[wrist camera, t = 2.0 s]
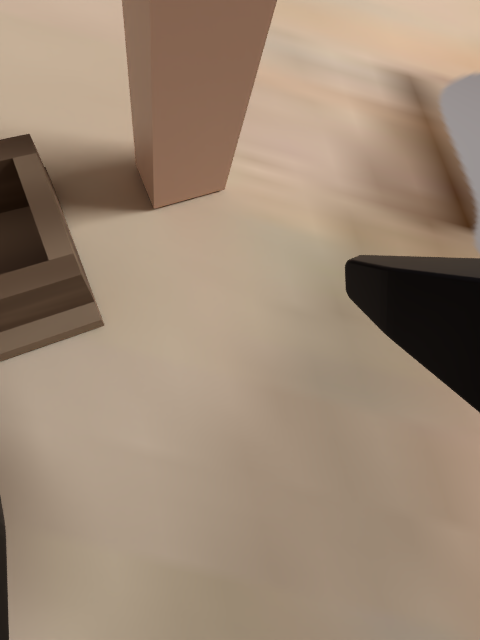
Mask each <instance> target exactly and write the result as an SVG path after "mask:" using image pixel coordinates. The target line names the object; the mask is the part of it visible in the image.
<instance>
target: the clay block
mask: <svg viewBox="0 0 480 640" xmlns="http://www.w3.org/2000/svg"><path fill="white" fill-rule="evenodd" d="M276 2H277V0H122V6H123V18H124V29H125V41H126V53H127V65H128V77H129V88H130V100H131V112H132V124H133V135H134V147H135V159H136V166H137V169H138V171H139V174H140V176H141V178H142V181H143V183H144V186H145V188H146V191H147V193H148V195H149V198H150V200H151V203H152V205H153V208H154V209H155V208H159V207H162V206H166V205H170V204H173V203H177V202H180V201H184V200H188V199H191V198H195V197H198V196H202V195H206V194H209V193H213V192H217V191H220V190H224V189H225V186H226V182H227V179H228V175H229V171H230V168H231V164H232V161H233V157H234V153H235V150H236V146H237V143H238V139H239V135H240V132H241V128H242V125H243V121H244V117H245V114H246V110H247V106H248V103H249V99H250V96H251V92H252V88H253V85H254V81H255V78H256V74H257V70H258V67H259V63H260V60H261V56H262V52H263V49H264V45H265V42H266V38H267V34H268V31H269V27H270V24H271V20H272V16H273V13H274V9H275V6H276Z"/></svg>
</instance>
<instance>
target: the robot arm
mask: <svg viewBox="0 0 480 640" xmlns="http://www.w3.org/2000/svg"><path fill="white" fill-rule="evenodd" d="M345 281H346V292H347V294H348V296H349V298H350V299H351V300H352V301H353V302H354V303H355V304H356V305H357V306H358V307H359V308H360V309H361V310H362V311H363V312H364V313H365V314H366V315H367V316H368V317H369V318H370V319H371V320H372V321H373V322H374V323H375V324H376V325H377V326H378V327H379V328H380V329H381V330H382V331H383V332H384V333H385V334H386V335H387V336H388V337H389V338H390V339H391V340H393V341H394V342H395V343H396V344H397V345H399V346H400V347H401V348H402V349H403V350H405V351H406V352H407V353H408V354H410V355H411V356H412V357H413V358H414V359H416V360H417V361H418V362H419V363H420V364H422V365H423V366H424V367H425V368H426V369H428V370H429V371H430V372H431V373H433V374H434V375H435V376H436V377H437V378H439V379H440V380H441V381H442V382H443V383H445V384H446V385H447V386H448V387H449V388H451V389H452V390H453V391H454V392H456V393H457V394H458V395H459V396H460V397H462V398H463V399H464V400H465V401H466V402H468V403H469V404H470V405H471V406H472V407H474V408H475V409H476V410H477V411H479V412H480V259H479V258H445V257H411V256H378V255H359V256H357V257H354V258H352V259H350V260H348V261H347V262H346V264H345ZM0 640H9V625H8V590H7V555H6V530H5V522H4V515H3V509H2V503H1V497H0Z"/></svg>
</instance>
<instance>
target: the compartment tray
mask: <svg viewBox="0 0 480 640" xmlns="http://www.w3.org/2000/svg"><path fill="white" fill-rule="evenodd" d="M101 326H104V323H103V320H102V317H101V315H100V312H99V309H98V306H97V304H96V301H95V298H94V296H93V293H92V290H91V288H90V285H89V282H88V279H87V277H86V274H85V271H84V269H83V266H82V263H81V260H80V258H79V255H78V252H77V250H76V247H75V244H74V241H73V239H72V236H71V233H70V231H69V228H68V225H67V223H66V220H65V217H64V214H63V212H62V209H61V206H60V204H59V201H58V198H57V195H56V193H55V190H54V187H53V185H52V182H51V179H50V177H49V175H48V172H47V170H46V168H45V167H44V166H43V163H42V161H41V159H40V157H39V154H38V152H37V150H36V147H35V145H34V143H33V141H32V138H31V136H30V134H26V135H21V136H17V137H12V138H7V139H2V140H0V361H2V360H5V359H8V358H11V357H14V356H17V355H20V354H23V353H26V352H29V351H31V350H34V349H37V348H40V347H43V346H46V345H49V344H52V343H55V342H57V341H60V340H63V339H66V338H69V337H72V336H75V335H78V334H81V333H84V332H86V331H89V330H92V329H95V328H98V327H101Z"/></svg>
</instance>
